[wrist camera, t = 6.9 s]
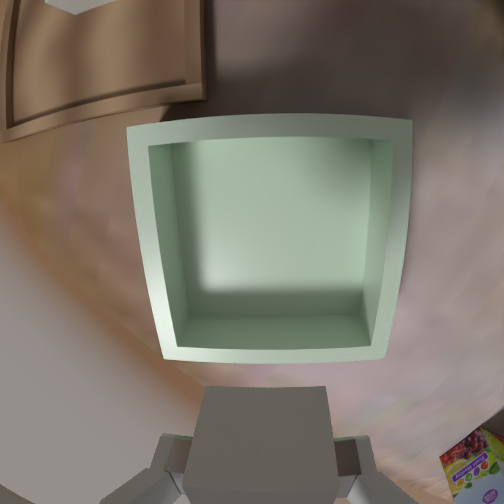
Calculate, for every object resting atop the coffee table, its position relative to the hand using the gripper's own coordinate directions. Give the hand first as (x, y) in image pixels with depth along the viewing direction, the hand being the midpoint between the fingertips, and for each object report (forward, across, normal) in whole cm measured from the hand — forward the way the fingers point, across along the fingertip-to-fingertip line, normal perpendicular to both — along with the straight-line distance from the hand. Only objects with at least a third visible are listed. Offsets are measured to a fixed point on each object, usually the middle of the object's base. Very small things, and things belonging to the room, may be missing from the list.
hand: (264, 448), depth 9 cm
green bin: (+15, 0, -3) cm, 15 cm away
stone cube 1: (+1, 0, 0) cm, 1 cm away
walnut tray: (+15, +13, -20) cm, 28 cm away
